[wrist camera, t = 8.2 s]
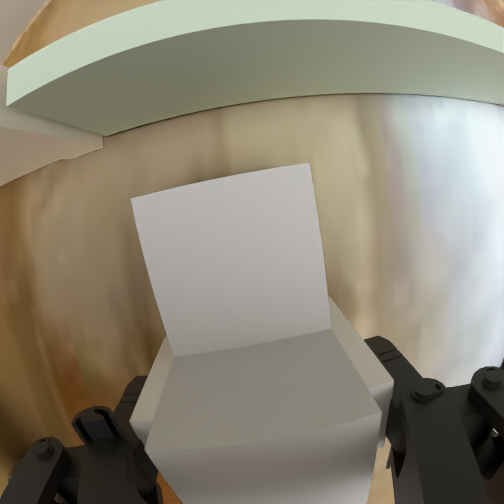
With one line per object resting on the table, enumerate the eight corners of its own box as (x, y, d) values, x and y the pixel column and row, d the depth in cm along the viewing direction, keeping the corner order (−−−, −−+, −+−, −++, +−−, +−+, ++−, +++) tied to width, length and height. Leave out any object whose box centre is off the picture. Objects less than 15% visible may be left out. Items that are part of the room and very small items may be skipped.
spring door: (105, 138, 12) (6, 110, 5) (100, 88, 11) (12, 34, 4) (509, 107, 12) (586, 97, 5) (499, 71, 11) (572, 51, 5)
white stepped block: (226, 421, 14) (224, 549, 7) (164, 193, 12) (49, 213, 4) (318, 405, 14) (360, 527, 7) (286, 169, 12) (370, 145, 4)
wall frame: (-4, 192, 12) (-138, 216, 3) (-8, 160, 12) (-139, 166, 2) (553, 123, 13) (638, 122, 3) (548, 100, 12) (631, 94, 2)
